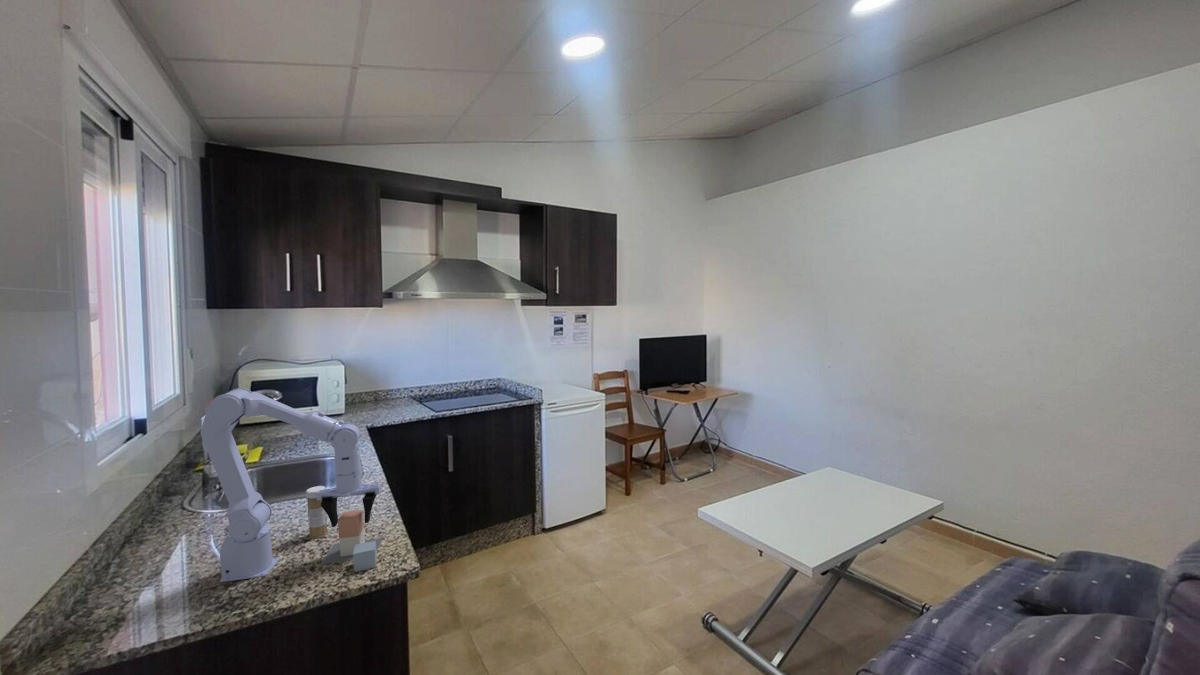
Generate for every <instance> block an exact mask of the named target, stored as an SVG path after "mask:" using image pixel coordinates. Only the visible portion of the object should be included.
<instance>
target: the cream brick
mask: <svg viewBox="0 0 1200 675" xmlns="http://www.w3.org/2000/svg"><path fill="white" fill-rule="evenodd" d="M338 539H339V543H340V556H348V555H353V552H354V547H355V545H357V544H362V543H365V540H366V535H365V527H364V528H363V530H362V532H361V533H360V535H359V536H355V537H347V538H339V537H338Z"/></svg>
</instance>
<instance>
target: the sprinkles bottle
mask: <svg viewBox="0 0 1200 675" xmlns="http://www.w3.org/2000/svg"><path fill="white" fill-rule="evenodd" d="M325 489H326V487H325V486H324V485H317V486H313V487H312V486H311V487H310V488H307V489H306V491H305V496H306V500H307V515H308V516H307V517H308V518H307V520H308V528H309V534H308V535H309V539H319V538H323V537H325V536H327V534H328V533H329V531H328V515H327V513H326V512H325V510H324V509H323V508H322V507H321V502H322V500H317V492H318V491H319V490H325Z"/></svg>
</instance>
